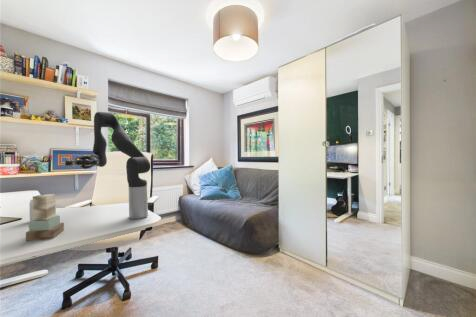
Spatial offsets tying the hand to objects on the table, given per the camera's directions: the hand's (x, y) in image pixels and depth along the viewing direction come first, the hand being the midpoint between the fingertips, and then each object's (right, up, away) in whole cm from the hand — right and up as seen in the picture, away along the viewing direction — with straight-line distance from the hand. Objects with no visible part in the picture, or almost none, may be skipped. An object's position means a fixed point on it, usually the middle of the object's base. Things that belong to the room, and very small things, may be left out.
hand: (77, 163), depth 108 cm
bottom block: (+3, -31, -20) cm, 37 cm away
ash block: (+3, -23, -21) cm, 31 cm away
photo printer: (-17, -30, -1) cm, 35 cm away
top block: (+3, -27, -21) cm, 34 cm away
